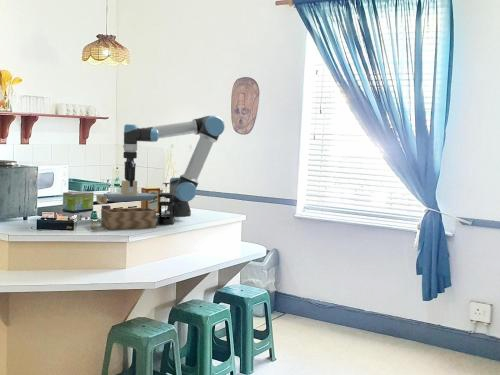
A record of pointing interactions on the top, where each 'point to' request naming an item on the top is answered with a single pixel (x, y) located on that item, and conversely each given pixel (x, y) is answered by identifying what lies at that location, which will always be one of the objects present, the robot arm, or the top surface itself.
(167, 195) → the french press
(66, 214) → the tea box
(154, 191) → the baking soda box
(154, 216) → the brown woven basket
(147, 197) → the lid
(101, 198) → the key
